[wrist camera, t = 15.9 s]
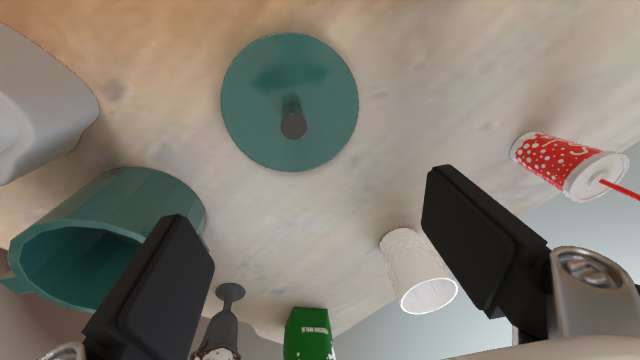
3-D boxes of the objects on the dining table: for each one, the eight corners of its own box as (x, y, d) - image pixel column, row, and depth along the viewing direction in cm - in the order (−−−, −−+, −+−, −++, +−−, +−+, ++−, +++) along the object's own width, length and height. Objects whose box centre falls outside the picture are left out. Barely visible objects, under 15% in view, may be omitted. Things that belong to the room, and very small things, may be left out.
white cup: (372, 260, 41) (395, 317, 33) (379, 226, 37) (407, 281, 29) (415, 256, 42) (448, 310, 34) (425, 222, 38) (466, 275, 29)
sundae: (239, 275, 39) (217, 390, 26) (256, 297, 42) (243, 408, 30) (202, 286, 39) (161, 406, 26) (221, 307, 42) (194, 421, 30)
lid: (200, 46, 22) (173, 48, 17) (351, 21, 23) (371, 15, 17) (247, 177, 30) (239, 206, 24) (359, 156, 30) (375, 180, 25)
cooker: (35, 183, 27) (-74, 245, 19) (201, 152, 27) (166, 199, 19) (108, 261, 34) (53, 330, 26) (239, 235, 34) (225, 295, 26)
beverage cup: (557, 131, 32) (717, 185, 20) (527, 169, 35) (652, 236, 23) (524, 121, 31) (675, 173, 19) (495, 162, 34) (611, 229, 22)
